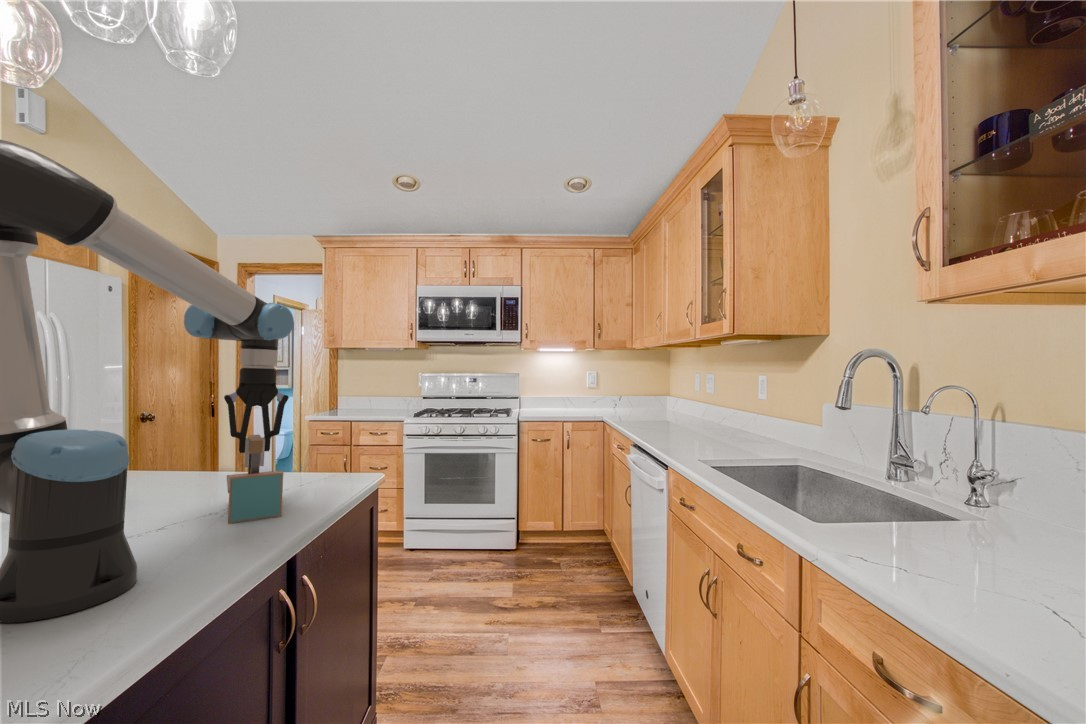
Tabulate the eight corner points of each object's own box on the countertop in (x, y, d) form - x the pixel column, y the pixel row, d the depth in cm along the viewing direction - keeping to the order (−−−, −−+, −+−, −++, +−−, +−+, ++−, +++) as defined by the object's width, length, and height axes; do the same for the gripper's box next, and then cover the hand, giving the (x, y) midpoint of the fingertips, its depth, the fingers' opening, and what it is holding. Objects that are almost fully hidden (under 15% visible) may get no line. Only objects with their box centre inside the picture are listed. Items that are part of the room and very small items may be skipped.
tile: (281, 516, 102) (283, 472, 102) (227, 524, 96) (230, 477, 96) (280, 514, 103) (282, 471, 104) (227, 521, 98) (229, 475, 98)
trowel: (280, 487, 103) (283, 440, 104) (228, 493, 98) (230, 443, 98) (273, 474, 116) (275, 432, 117) (226, 478, 110) (228, 434, 111)
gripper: (293, 368, 115) (288, 460, 115) (219, 366, 106) (213, 465, 106) (297, 368, 109) (292, 465, 109) (219, 366, 100) (213, 472, 99)
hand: (253, 465), depth 107 cm, fingers closed on trowel, 2 cm apart
